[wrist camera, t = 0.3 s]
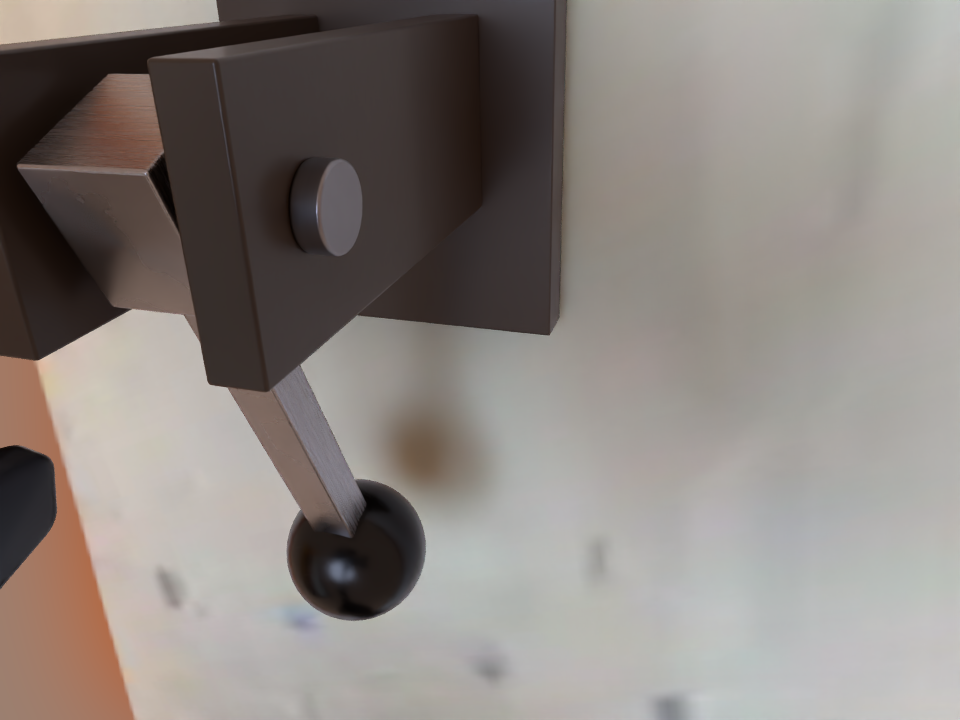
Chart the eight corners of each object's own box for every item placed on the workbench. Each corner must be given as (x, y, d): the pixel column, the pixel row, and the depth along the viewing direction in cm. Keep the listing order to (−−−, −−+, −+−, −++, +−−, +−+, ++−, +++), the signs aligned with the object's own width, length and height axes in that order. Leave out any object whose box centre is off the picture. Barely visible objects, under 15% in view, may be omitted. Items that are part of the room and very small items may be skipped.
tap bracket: (559, 318, 22) (399, 601, 12) (282, 291, 24) (-37, 509, 14) (571, -160, 17) (322, -326, 7) (224, -136, 19) (-312, -236, 10)
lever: (452, 533, 23) (413, 655, 21) (339, 512, 24) (289, 627, 22) (289, 52, 12) (168, 205, 10) (92, 51, 13) (-57, 190, 11)
